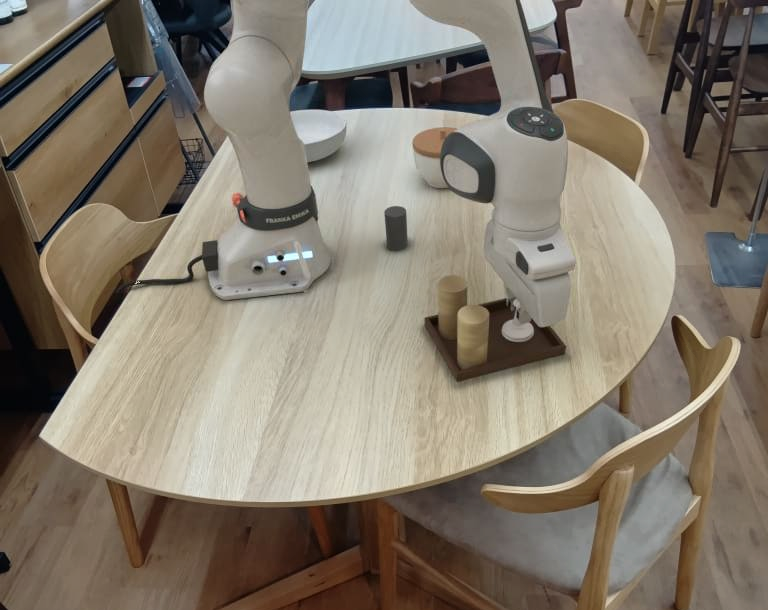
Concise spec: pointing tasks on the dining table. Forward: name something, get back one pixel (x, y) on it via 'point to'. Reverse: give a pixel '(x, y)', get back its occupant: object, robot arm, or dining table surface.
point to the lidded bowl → (430, 154)
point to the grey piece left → (396, 227)
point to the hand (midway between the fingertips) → (518, 314)
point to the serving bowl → (319, 131)
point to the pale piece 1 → (450, 304)
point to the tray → (499, 344)
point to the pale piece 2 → (472, 336)
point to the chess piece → (517, 328)
